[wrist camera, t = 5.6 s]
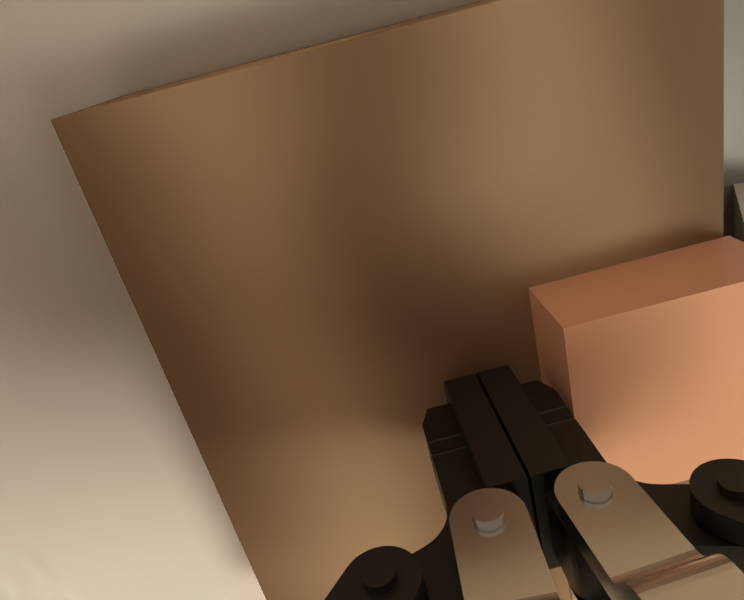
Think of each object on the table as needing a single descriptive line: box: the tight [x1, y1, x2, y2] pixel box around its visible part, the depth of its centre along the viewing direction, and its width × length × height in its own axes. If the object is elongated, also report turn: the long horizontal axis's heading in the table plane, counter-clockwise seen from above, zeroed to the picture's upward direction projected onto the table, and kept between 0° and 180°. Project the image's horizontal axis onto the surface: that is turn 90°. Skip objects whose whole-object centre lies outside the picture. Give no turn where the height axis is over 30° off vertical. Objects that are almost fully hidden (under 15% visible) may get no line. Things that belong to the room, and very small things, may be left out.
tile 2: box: [528, 235, 744, 484], centre depth 13 cm, size 4×4×2 cm
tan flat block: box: [51, 0, 724, 600], centre depth 16 cm, size 12×16×4 cm
